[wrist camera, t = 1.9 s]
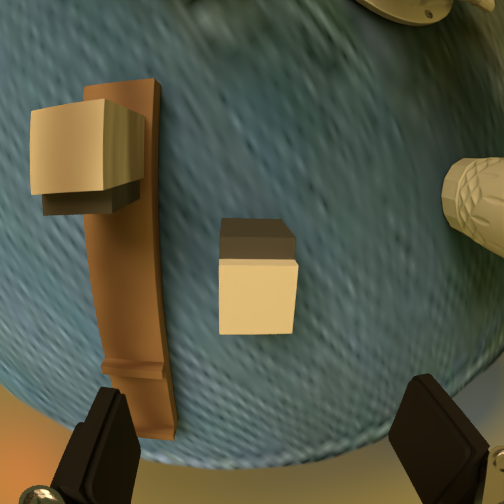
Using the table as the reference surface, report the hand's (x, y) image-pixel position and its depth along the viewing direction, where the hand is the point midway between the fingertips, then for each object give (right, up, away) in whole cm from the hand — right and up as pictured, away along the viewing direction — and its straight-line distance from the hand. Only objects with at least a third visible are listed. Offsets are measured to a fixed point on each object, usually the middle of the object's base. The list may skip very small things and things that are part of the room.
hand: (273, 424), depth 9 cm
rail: (-10, +3, +14) cm, 18 cm away
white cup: (+18, +10, +14) cm, 25 cm away
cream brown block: (-1, +5, +14) cm, 15 cm away
